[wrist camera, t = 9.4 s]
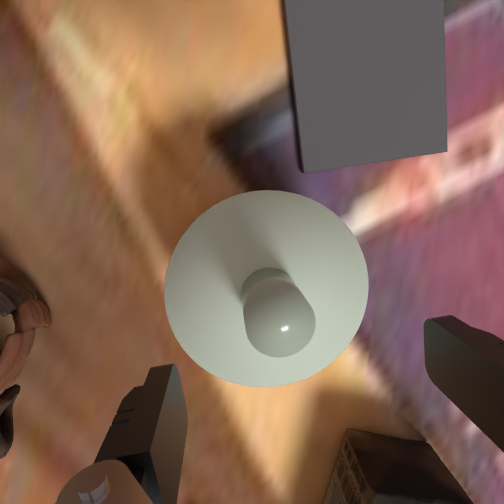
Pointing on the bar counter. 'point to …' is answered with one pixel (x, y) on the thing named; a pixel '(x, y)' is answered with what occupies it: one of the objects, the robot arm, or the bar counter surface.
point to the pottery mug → (16, 348)
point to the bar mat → (367, 80)
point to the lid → (266, 288)
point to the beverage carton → (390, 473)
